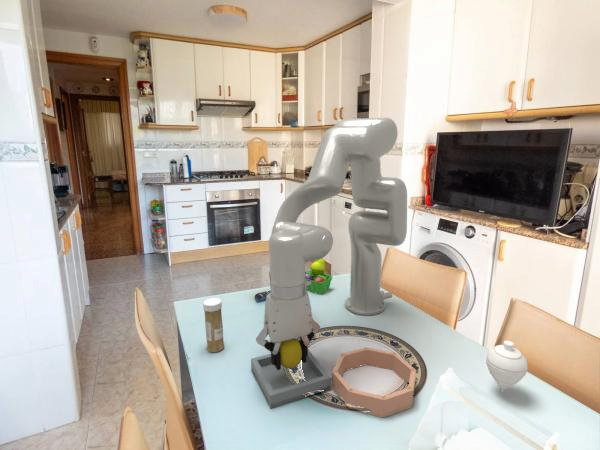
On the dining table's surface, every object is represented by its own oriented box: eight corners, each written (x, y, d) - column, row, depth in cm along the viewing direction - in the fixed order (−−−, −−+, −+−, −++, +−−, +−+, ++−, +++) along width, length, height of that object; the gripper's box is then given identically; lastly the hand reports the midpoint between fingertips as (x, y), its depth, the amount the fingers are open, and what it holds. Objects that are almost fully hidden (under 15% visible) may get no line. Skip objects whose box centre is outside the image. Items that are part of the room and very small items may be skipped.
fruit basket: (296, 288, 134) (295, 259, 131) (310, 281, 140) (310, 253, 138) (320, 296, 127) (320, 266, 124) (335, 288, 133) (335, 259, 131)
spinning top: (529, 407, 74) (537, 354, 71) (488, 403, 75) (495, 351, 72) (514, 382, 81) (521, 334, 78) (477, 379, 83) (483, 331, 80)
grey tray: (304, 355, 92) (304, 345, 92) (331, 389, 80) (331, 377, 79) (251, 369, 87) (250, 358, 86) (270, 408, 74) (270, 395, 74)
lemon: (299, 377, 80) (299, 344, 78) (275, 374, 81) (273, 342, 79) (304, 362, 85) (303, 331, 83) (281, 359, 86) (280, 329, 84)
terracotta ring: (382, 356, 91) (382, 342, 90) (431, 399, 76) (432, 383, 75) (321, 374, 85) (321, 359, 84) (361, 425, 70) (362, 407, 69)
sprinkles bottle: (224, 351, 95) (221, 303, 91) (206, 354, 94) (202, 305, 90) (224, 342, 99) (221, 296, 96) (206, 344, 98) (203, 298, 95)
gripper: (316, 276, 85) (316, 345, 89) (244, 289, 78) (248, 363, 83) (331, 288, 78) (331, 362, 82) (254, 303, 72) (258, 383, 76)
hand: (289, 362), depth 82 cm, fingers closed on lemon, 5 cm apart
